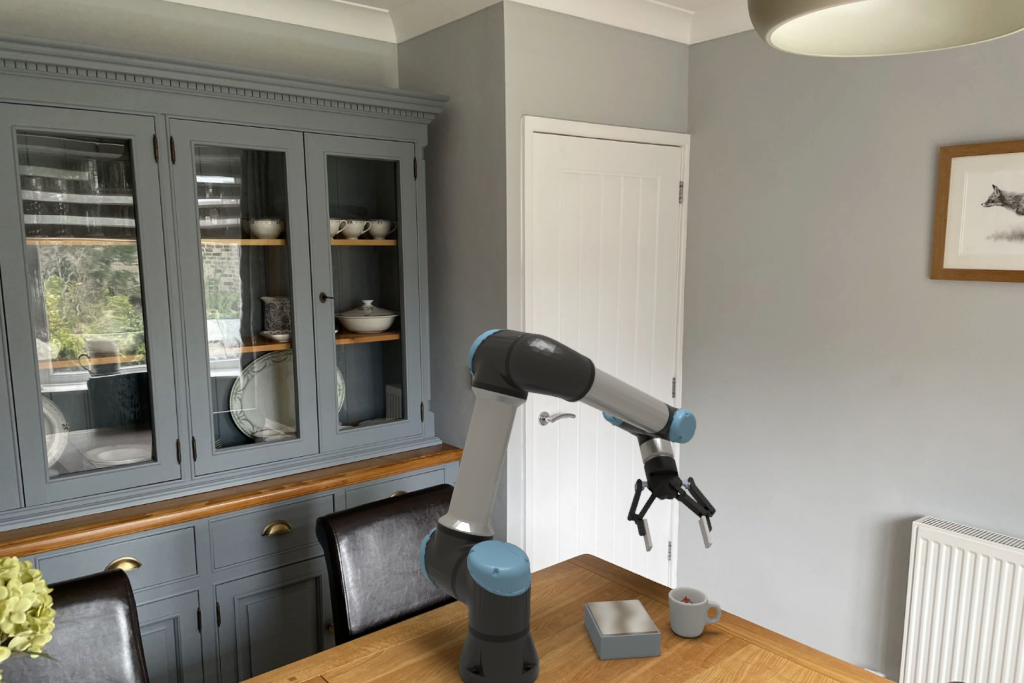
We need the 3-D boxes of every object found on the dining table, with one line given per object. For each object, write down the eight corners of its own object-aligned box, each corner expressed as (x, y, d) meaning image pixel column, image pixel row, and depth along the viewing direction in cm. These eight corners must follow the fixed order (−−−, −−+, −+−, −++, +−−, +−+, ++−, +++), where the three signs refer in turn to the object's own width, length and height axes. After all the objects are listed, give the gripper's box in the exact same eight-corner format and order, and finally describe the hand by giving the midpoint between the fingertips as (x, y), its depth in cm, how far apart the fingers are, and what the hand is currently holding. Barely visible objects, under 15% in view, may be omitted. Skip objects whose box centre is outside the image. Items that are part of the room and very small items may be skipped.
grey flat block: (600, 659, 145) (601, 635, 144) (584, 624, 158) (584, 601, 158) (660, 655, 146) (660, 631, 145) (638, 620, 160) (639, 598, 159)
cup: (716, 624, 159) (718, 588, 158) (723, 643, 151) (725, 606, 150) (665, 621, 160) (666, 585, 159) (669, 640, 152) (670, 603, 151)
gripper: (704, 467, 181) (727, 551, 168) (604, 471, 178) (620, 557, 165) (714, 452, 175) (739, 537, 162) (611, 455, 172) (628, 543, 159)
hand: (679, 547), depth 164 cm, fingers open, 13 cm apart
